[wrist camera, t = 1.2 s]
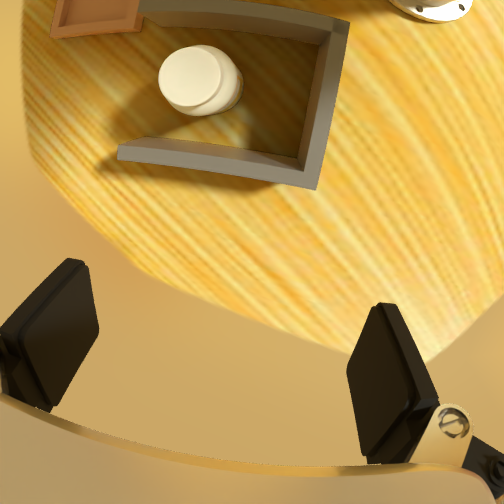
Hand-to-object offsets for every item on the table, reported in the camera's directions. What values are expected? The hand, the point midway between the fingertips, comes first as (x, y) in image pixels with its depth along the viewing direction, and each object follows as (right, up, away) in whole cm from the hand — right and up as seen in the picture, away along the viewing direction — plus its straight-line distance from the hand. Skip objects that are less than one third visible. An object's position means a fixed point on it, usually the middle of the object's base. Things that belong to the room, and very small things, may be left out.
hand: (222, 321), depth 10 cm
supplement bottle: (-2, +17, +16) cm, 24 cm away
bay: (-1, +17, +16) cm, 23 cm away
